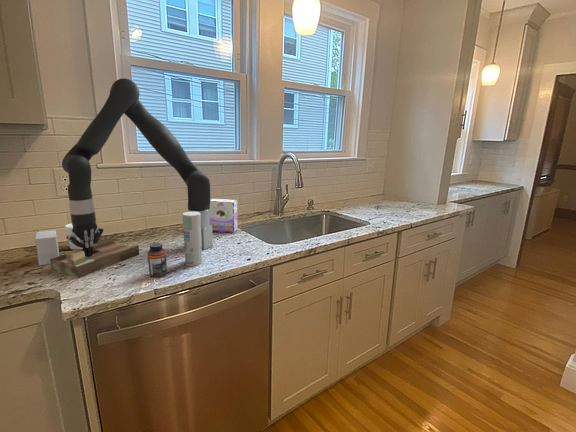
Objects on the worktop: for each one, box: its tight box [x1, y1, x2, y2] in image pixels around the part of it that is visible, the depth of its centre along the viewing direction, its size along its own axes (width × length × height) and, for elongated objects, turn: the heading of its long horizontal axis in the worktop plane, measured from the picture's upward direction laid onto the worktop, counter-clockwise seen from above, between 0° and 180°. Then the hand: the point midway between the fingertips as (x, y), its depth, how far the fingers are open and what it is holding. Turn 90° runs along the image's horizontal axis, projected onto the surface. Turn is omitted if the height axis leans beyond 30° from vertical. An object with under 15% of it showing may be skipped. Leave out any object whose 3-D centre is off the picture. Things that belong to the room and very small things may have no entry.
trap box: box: [50, 239, 140, 279], centre depth 122 cm, size 15×25×4 cm, turn 155°
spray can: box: [182, 211, 203, 267], centre depth 121 cm, size 6×6×20 cm
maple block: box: [65, 249, 86, 266], centre depth 114 cm, size 4×4×4 cm
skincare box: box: [34, 229, 60, 266], centre depth 121 cm, size 10×6×10 cm, turn 35°
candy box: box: [210, 198, 238, 234], centre depth 164 cm, size 14×6×16 cm, turn 80°
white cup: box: [64, 222, 83, 251], centre depth 135 cm, size 8×8×10 cm
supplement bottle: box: [147, 242, 168, 278], centre depth 112 cm, size 6×6×11 cm
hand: (88, 255), depth 118 cm, fingers closed
